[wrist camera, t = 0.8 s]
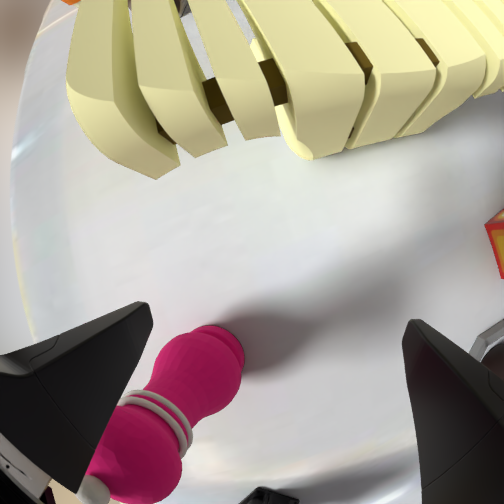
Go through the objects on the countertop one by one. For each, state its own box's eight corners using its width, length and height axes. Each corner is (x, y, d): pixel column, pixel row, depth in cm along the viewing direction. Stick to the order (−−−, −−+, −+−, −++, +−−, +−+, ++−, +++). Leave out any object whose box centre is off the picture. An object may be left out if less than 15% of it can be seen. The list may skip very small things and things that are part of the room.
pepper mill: (238, 313, 25) (92, 459, 5) (258, 381, 25) (186, 561, 5) (170, 326, 26) (4, 422, 6) (192, 389, 26) (77, 521, 6)
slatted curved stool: (210, 204, 25) (62, 140, 7) (176, 78, 25) (88, -23, 8) (473, 131, 20) (570, 60, 2) (408, 26, 20) (443, -69, 3)
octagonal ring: (487, 418, 20) (492, 423, 18) (437, 402, 21) (442, 408, 20) (532, 338, 18) (539, 341, 17) (491, 306, 20) (498, 309, 19)
